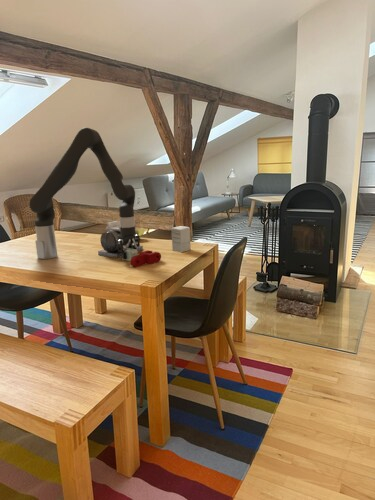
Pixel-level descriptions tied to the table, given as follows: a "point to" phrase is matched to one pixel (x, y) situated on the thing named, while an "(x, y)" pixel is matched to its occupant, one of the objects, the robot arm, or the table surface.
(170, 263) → the table surface
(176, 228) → the supplement box
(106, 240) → the motor
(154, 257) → the mechanical linkage
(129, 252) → the pale green block
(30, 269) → the table surface
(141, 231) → the plastic component
